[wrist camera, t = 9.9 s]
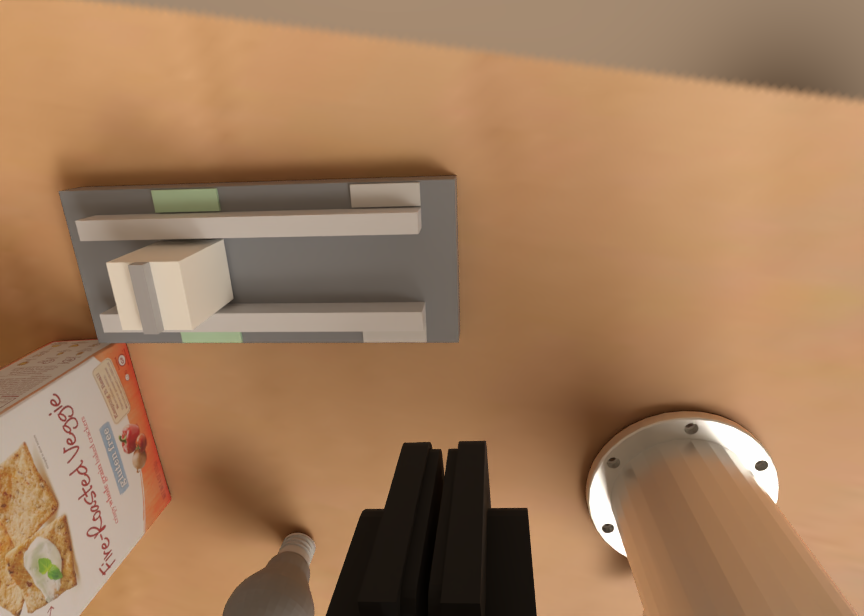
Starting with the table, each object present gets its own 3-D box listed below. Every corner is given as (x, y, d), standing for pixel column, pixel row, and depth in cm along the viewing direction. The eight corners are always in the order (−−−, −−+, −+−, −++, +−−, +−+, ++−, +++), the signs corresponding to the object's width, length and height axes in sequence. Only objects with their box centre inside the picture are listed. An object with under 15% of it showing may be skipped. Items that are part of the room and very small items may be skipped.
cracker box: (179, 497, 43) (-75, 822, 23) (108, 499, 44) (-197, 815, 24) (131, 333, 38) (-235, 565, 19) (52, 337, 39) (-381, 566, 19)
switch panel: (460, 330, 36) (457, 354, 33) (117, 331, 38) (80, 354, 35) (456, 175, 33) (453, 183, 29) (81, 186, 35) (35, 195, 32)
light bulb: (299, 497, 42) (246, 609, 33) (353, 547, 43) (318, 668, 34) (248, 535, 44) (185, 652, 34) (302, 582, 45) (255, 707, 36)
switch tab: (233, 298, 34) (187, 334, 29) (172, 299, 35) (115, 334, 29) (223, 239, 33) (172, 264, 28) (160, 240, 33) (98, 265, 28)
